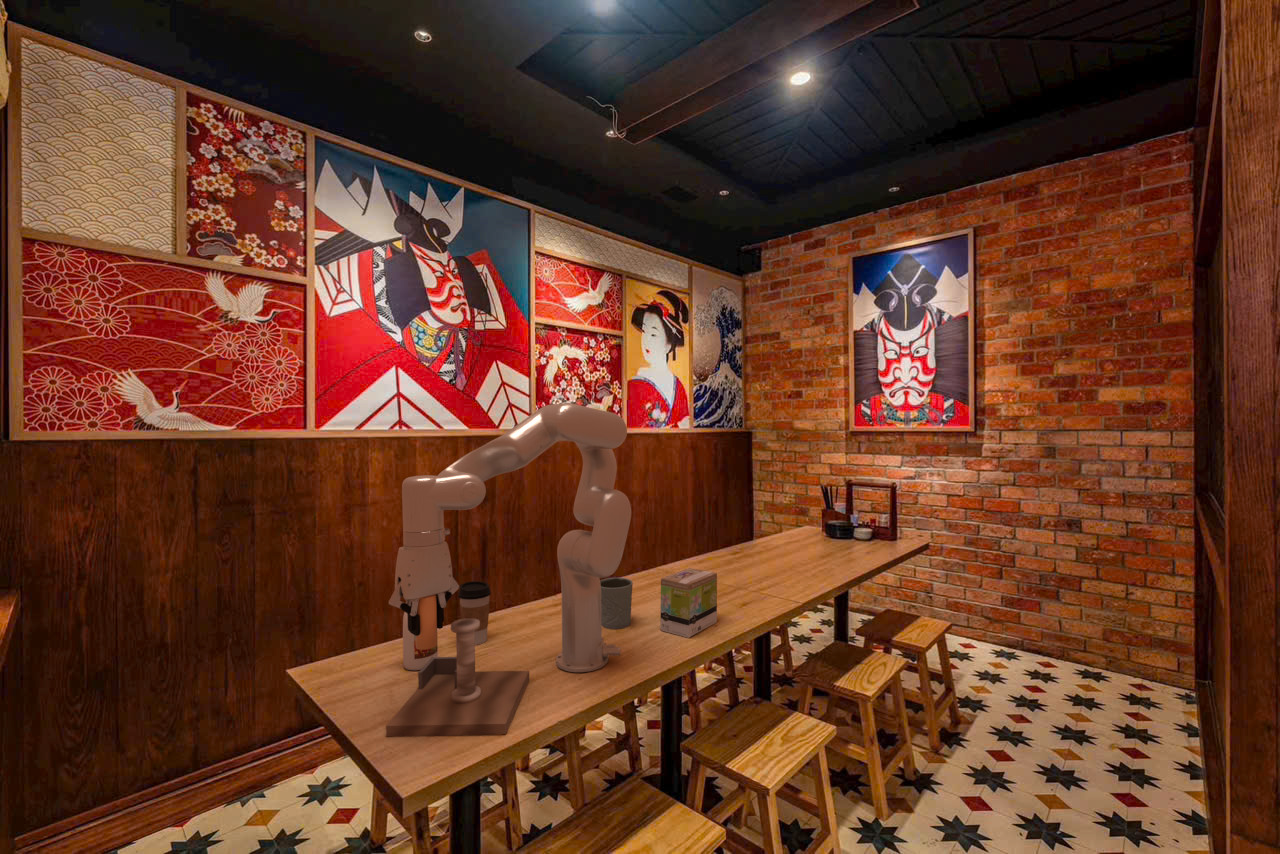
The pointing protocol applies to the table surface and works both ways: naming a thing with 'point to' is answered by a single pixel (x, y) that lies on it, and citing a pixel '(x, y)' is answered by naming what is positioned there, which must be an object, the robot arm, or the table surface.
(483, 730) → the board
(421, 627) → the plug
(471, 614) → the coffee cup
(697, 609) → the tea box
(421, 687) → the notch block
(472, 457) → the robot arm
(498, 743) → the table surface
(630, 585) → the grey green embossed cup
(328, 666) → the table surface
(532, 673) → the table surface
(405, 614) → the milk bottle
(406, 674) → the table surface
